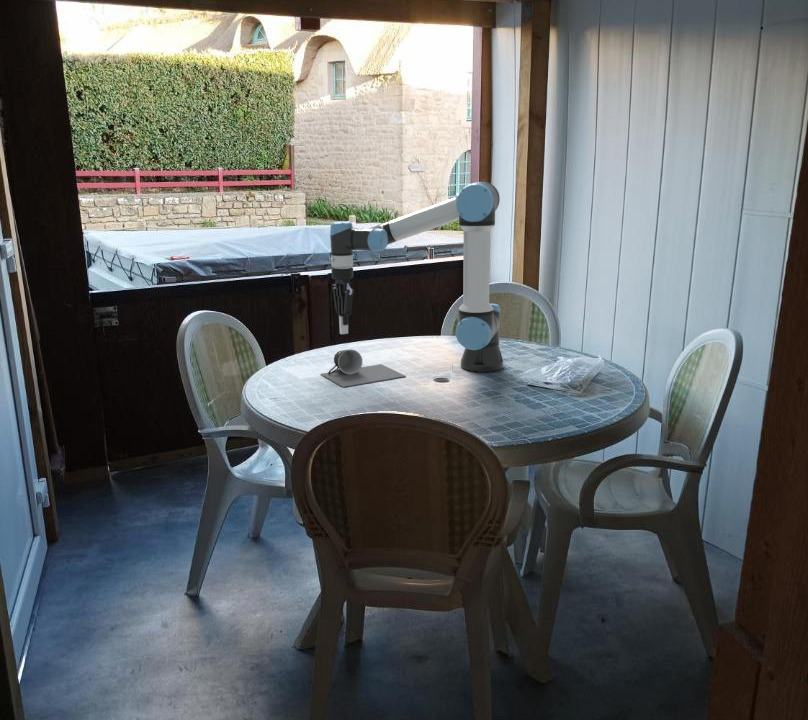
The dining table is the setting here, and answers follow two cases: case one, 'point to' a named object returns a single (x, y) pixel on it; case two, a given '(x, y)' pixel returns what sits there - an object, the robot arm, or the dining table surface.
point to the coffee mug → (347, 361)
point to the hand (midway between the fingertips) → (343, 333)
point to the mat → (363, 375)
